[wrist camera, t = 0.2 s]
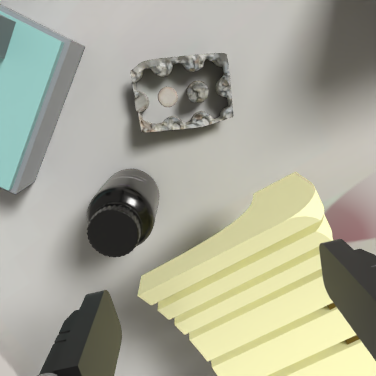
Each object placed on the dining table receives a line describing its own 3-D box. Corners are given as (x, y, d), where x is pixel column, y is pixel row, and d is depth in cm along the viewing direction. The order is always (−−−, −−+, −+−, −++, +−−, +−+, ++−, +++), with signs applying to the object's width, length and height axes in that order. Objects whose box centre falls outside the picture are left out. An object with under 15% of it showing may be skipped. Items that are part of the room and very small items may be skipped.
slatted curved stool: (353, 330, 48) (449, 461, 31) (255, 375, 50) (295, 522, 33) (266, 151, 40) (332, 196, 23) (153, 212, 42) (137, 295, 25)
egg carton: (141, 131, 40) (136, 135, 36) (131, 64, 37) (126, 61, 34) (230, 121, 40) (236, 125, 36) (226, 53, 37) (231, 49, 33)
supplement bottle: (140, 157, 40) (125, 184, 29) (169, 203, 42) (166, 245, 30) (93, 184, 41) (60, 222, 29) (123, 228, 43) (104, 280, 31)
